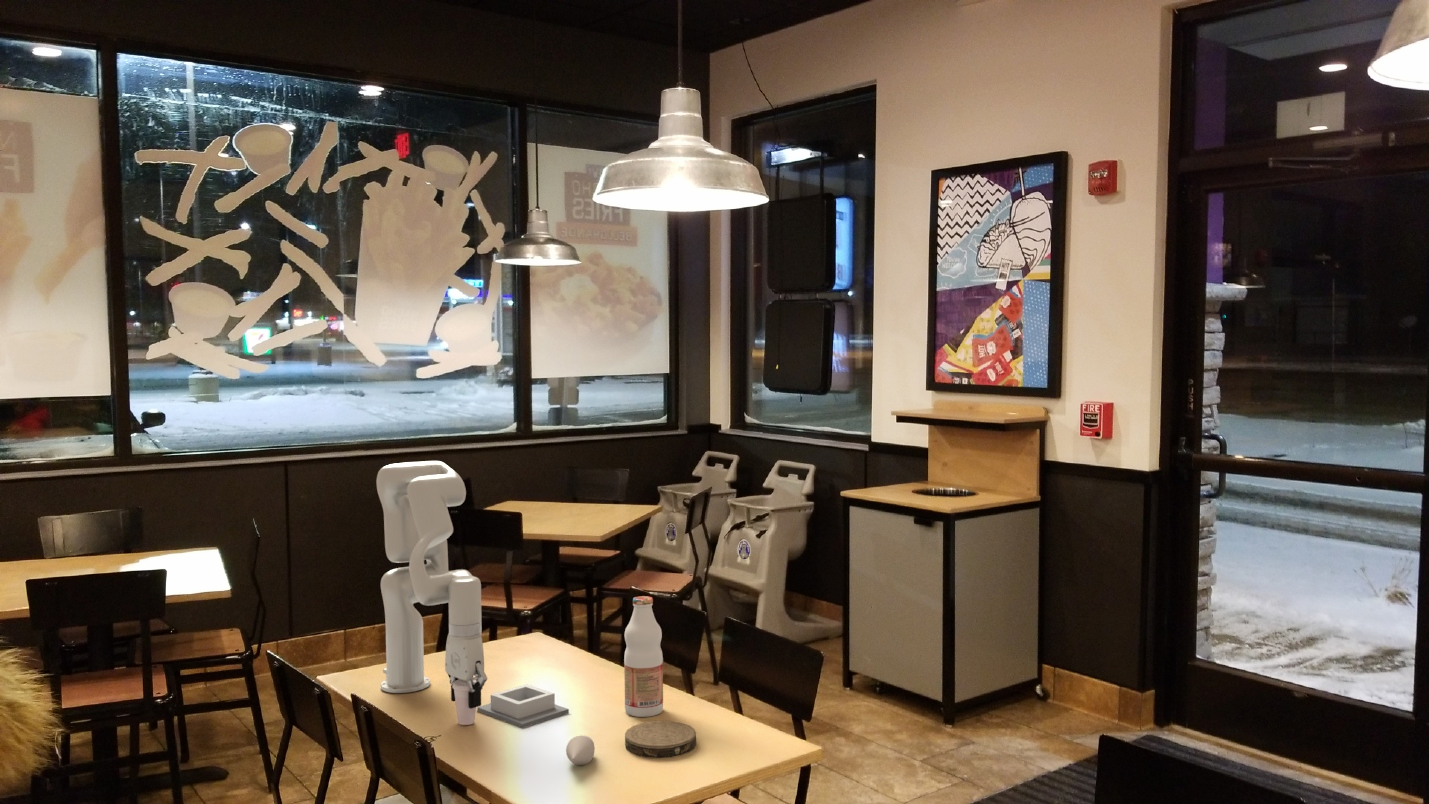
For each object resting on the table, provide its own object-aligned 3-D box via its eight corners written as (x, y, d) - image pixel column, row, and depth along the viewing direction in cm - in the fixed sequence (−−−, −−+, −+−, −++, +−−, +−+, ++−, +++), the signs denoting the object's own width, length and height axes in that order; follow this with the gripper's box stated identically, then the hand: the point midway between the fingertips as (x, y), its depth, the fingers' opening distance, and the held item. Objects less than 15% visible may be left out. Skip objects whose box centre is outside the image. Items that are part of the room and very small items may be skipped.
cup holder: (477, 711, 263) (477, 693, 263) (523, 697, 274) (523, 680, 274) (522, 728, 251) (522, 709, 251) (568, 713, 262) (568, 694, 261)
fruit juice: (616, 713, 261) (615, 599, 260) (641, 702, 269) (640, 592, 268) (646, 720, 256) (645, 604, 254) (671, 709, 263) (669, 596, 262)
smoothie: (473, 728, 251) (472, 669, 250) (447, 725, 252) (447, 667, 251) (484, 718, 257) (484, 661, 256) (459, 716, 258) (459, 659, 258)
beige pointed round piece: (570, 780, 220) (583, 764, 235) (593, 761, 220) (604, 746, 235) (552, 756, 221) (566, 742, 235) (575, 737, 221) (587, 724, 236)
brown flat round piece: (611, 743, 242) (611, 730, 241) (670, 728, 251) (670, 716, 251) (650, 765, 229) (649, 751, 229) (710, 748, 238) (710, 735, 238)
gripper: (431, 625, 256) (432, 699, 258) (473, 639, 245) (474, 716, 246) (457, 619, 262) (458, 691, 263) (500, 632, 250) (501, 708, 251)
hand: (466, 702), depth 254 cm, fingers closed on smoothie, 6 cm apart
